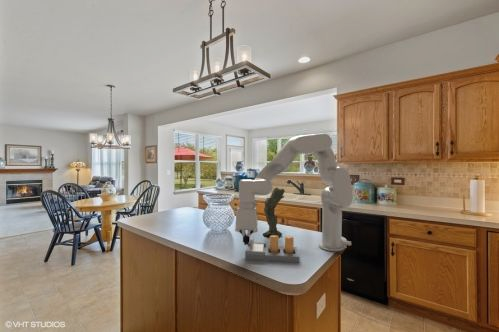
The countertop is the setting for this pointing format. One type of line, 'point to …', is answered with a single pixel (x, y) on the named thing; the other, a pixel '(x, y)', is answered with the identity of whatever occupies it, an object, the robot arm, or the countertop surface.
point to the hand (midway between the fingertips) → (246, 243)
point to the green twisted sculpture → (272, 212)
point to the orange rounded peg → (289, 245)
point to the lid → (255, 246)
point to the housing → (271, 254)
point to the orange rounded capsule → (273, 244)
